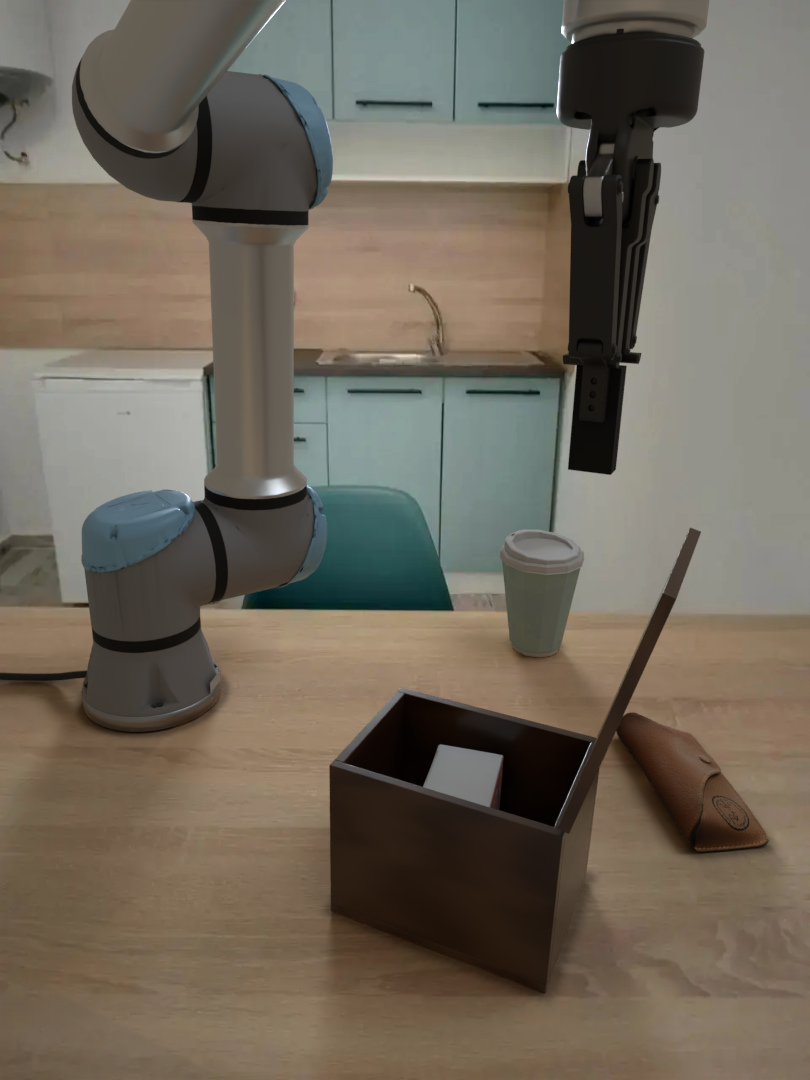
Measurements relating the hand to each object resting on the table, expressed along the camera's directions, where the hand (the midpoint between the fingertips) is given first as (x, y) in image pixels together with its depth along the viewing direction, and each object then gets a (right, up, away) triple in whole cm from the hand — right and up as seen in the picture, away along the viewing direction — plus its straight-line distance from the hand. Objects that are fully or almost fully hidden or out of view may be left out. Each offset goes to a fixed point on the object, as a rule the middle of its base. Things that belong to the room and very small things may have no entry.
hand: (591, 469), depth 52 cm
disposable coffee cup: (+5, -19, +57) cm, 60 cm away
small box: (-8, -33, +16) cm, 37 cm away
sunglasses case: (+16, -29, +30) cm, 45 cm away
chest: (-7, -34, +16) cm, 38 cm away
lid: (+3, -14, +4) cm, 14 cm away
